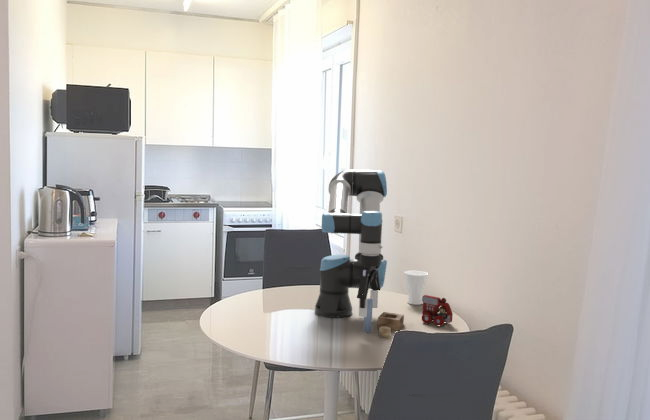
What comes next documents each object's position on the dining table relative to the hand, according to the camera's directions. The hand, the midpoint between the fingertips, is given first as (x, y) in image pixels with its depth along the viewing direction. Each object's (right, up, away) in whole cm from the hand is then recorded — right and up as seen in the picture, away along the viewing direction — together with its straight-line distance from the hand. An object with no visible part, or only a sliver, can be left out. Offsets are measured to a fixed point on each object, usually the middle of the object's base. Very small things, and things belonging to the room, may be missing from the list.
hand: (368, 312), depth 206 cm
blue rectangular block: (0, -7, +1) cm, 7 cm away
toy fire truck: (+27, -7, +14) cm, 32 cm away
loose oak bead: (+6, -8, -3) cm, 10 cm away
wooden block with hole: (+9, -7, +8) cm, 14 cm away
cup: (+24, -4, +43) cm, 49 cm away
